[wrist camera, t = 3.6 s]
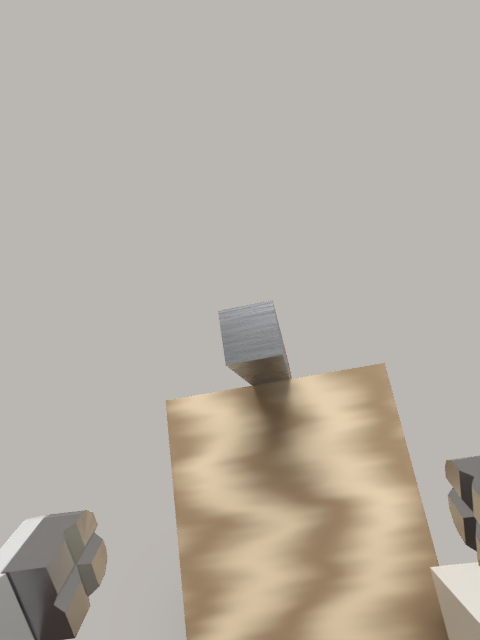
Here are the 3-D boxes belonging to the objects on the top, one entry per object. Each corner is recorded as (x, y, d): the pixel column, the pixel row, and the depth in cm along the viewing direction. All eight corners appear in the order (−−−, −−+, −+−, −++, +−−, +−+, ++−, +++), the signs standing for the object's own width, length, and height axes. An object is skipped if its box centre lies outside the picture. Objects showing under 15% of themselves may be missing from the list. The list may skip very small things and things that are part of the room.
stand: (217, 988, 16) (165, 400, 24) (252, 758, 28) (210, 408, 36) (554, 995, 15) (384, 363, 23) (445, 747, 26) (357, 383, 34)
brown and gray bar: (226, 365, 15) (218, 311, 16) (268, 398, 34) (264, 372, 35) (282, 355, 15) (272, 300, 16) (294, 393, 34) (289, 368, 35)
